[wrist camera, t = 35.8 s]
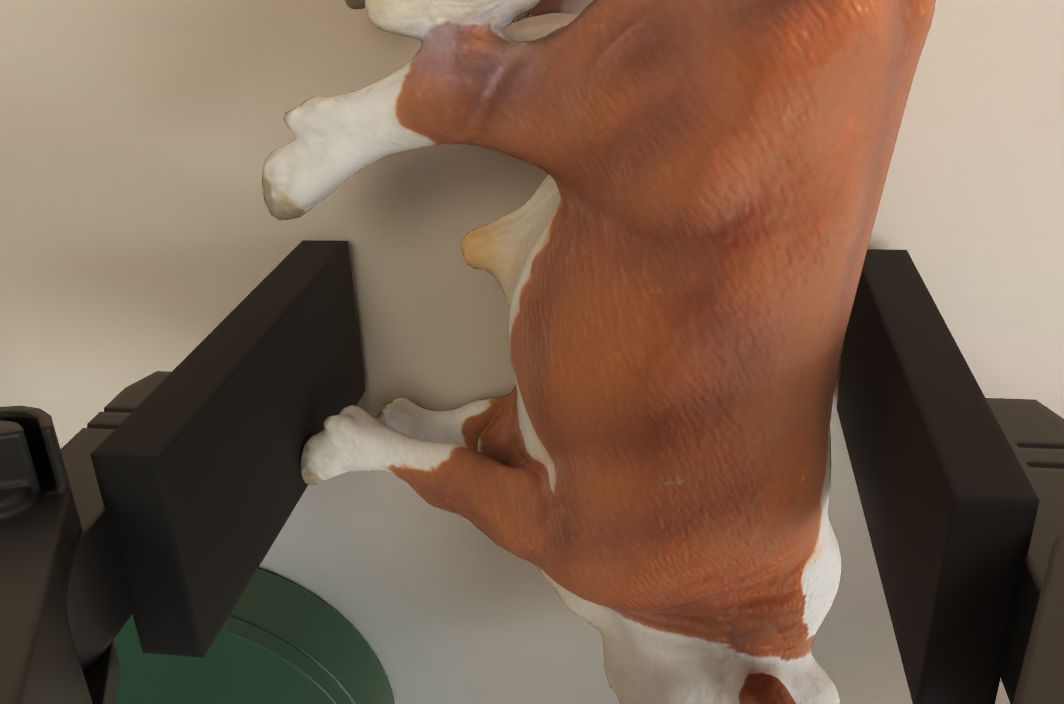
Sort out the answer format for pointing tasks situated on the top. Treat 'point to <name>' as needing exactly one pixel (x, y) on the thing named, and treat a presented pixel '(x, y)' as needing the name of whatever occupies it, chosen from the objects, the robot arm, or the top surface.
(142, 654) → the lid
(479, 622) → the top surface
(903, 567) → the robot arm
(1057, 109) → the top surface
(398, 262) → the top surface
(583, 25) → the bull figurine
